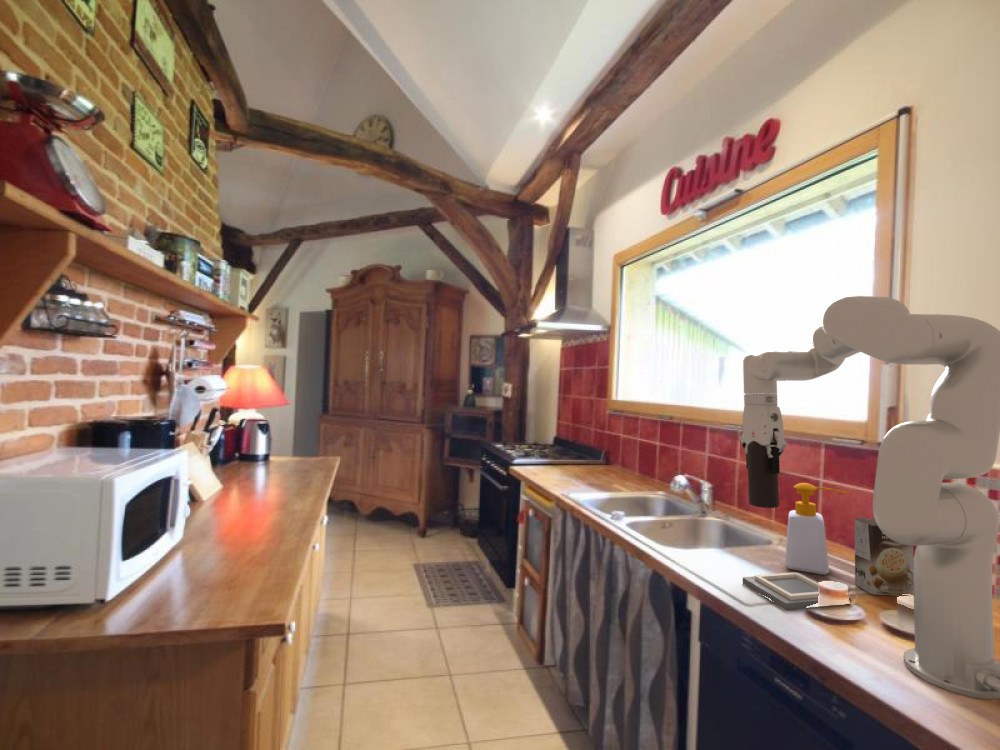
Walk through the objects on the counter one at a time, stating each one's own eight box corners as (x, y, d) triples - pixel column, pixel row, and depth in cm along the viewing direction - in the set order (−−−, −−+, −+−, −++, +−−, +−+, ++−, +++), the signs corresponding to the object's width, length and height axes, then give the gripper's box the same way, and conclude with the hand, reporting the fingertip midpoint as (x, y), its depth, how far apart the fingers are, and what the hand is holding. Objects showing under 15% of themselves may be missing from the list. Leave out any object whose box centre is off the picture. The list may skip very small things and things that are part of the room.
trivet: (850, 604, 105) (850, 593, 105) (786, 610, 102) (785, 599, 102) (800, 579, 118) (800, 569, 118) (742, 583, 116) (742, 573, 116)
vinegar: (775, 503, 124) (772, 425, 125) (782, 509, 117) (779, 427, 118) (746, 501, 126) (744, 425, 127) (751, 507, 119) (749, 427, 120)
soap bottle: (851, 581, 117) (849, 490, 118) (785, 569, 124) (783, 484, 125) (847, 568, 125) (845, 483, 126) (785, 558, 132) (784, 478, 133)
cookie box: (872, 595, 109) (870, 525, 109) (854, 584, 115) (852, 517, 116) (915, 597, 108) (913, 526, 109) (895, 585, 115) (893, 518, 115)
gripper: (799, 401, 115) (802, 476, 114) (750, 400, 132) (752, 465, 131) (771, 401, 113) (774, 477, 113) (726, 401, 131) (727, 466, 130)
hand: (762, 470), depth 122 cm, fingers closed on vinegar, 6 cm apart
